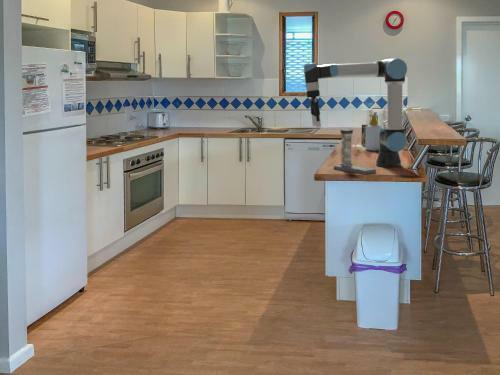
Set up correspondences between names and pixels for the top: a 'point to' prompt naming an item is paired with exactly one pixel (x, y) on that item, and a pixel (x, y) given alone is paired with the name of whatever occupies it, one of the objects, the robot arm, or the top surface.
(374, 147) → the soap bottle
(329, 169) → the top surface
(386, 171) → the top surface
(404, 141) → the robot arm
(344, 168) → the fader console
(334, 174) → the top surface
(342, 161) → the lever
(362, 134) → the coffee box
